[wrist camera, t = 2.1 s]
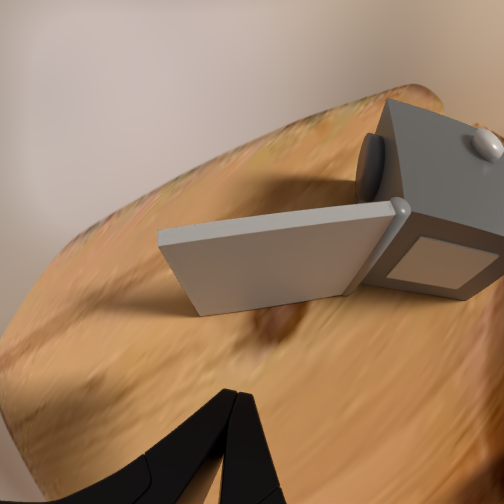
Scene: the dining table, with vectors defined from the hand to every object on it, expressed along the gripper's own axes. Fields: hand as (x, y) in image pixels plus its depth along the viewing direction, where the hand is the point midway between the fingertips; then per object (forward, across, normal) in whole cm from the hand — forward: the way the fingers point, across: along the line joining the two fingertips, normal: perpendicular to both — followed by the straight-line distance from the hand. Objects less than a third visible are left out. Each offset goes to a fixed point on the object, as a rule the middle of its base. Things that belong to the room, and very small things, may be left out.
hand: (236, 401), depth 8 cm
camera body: (+14, -9, -3) cm, 17 cm away
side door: (+9, -1, +1) cm, 9 cm away
